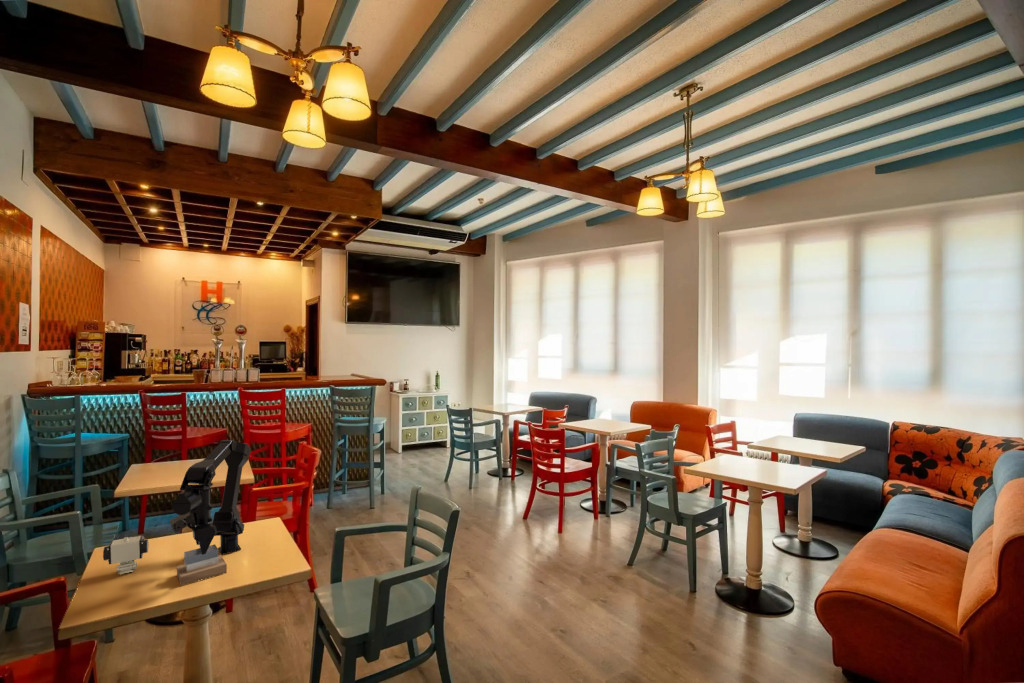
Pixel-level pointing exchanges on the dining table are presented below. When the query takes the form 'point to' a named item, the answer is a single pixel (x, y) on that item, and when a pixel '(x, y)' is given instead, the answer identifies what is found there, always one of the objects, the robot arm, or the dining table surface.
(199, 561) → the block
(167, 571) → the dining table surface
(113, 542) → the pneumatic valve
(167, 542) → the dining table surface
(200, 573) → the walnut stand
